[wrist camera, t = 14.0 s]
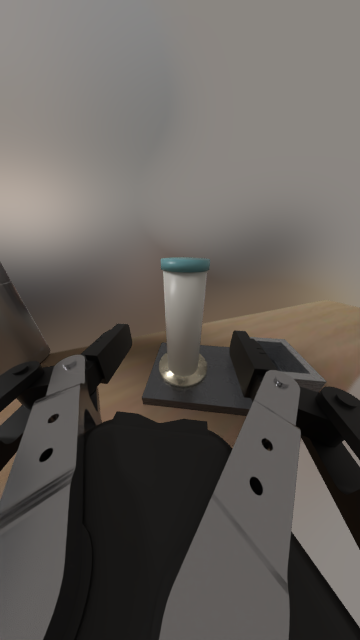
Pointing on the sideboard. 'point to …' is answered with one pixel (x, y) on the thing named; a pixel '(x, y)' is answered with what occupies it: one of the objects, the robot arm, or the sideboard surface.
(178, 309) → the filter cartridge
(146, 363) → the sideboard surface
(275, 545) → the robot arm
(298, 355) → the filter housing
